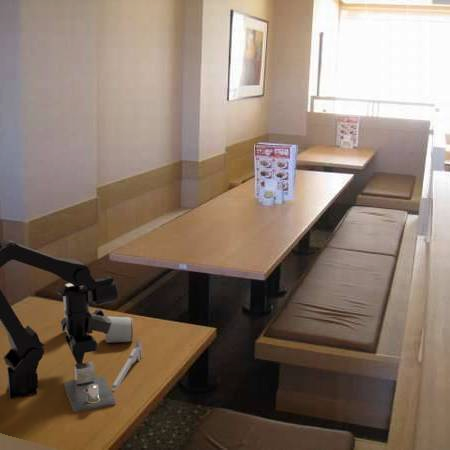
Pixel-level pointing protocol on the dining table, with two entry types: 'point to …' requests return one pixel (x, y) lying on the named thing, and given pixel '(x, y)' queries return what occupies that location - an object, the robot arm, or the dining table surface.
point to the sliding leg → (84, 372)
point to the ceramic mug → (120, 330)
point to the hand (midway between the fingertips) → (79, 364)
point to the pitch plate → (82, 396)
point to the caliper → (129, 364)
